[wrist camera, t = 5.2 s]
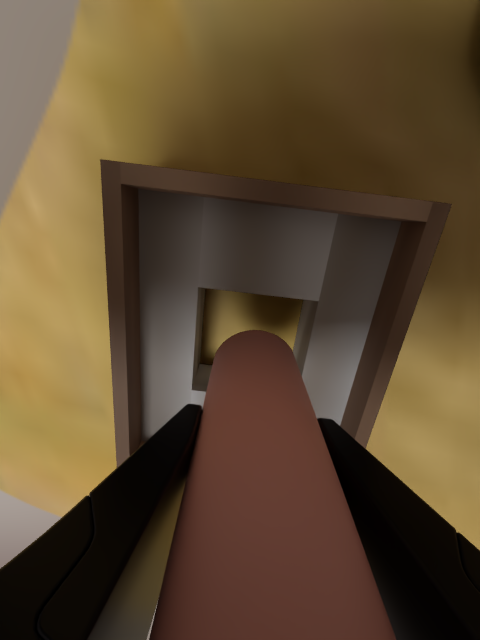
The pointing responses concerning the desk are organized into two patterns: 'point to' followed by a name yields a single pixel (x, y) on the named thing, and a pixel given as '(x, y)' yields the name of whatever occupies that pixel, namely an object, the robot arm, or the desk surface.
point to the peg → (264, 516)
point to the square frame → (257, 285)
